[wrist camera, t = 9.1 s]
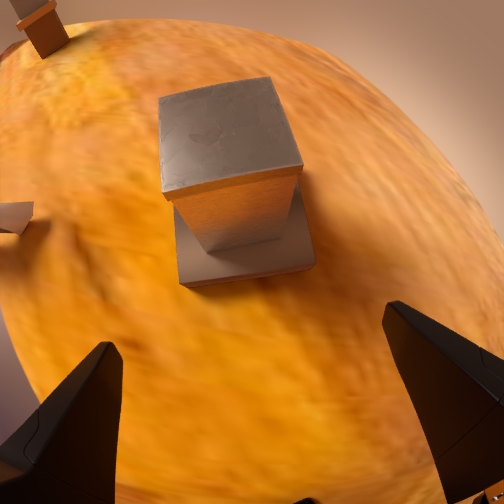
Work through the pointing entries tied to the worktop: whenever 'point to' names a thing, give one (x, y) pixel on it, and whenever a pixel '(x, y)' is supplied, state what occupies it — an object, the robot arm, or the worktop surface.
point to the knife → (41, 25)
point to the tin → (229, 162)
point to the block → (246, 253)
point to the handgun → (15, 216)
